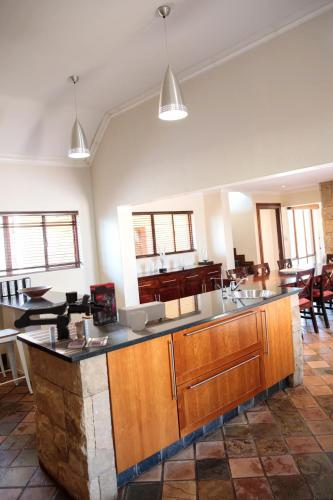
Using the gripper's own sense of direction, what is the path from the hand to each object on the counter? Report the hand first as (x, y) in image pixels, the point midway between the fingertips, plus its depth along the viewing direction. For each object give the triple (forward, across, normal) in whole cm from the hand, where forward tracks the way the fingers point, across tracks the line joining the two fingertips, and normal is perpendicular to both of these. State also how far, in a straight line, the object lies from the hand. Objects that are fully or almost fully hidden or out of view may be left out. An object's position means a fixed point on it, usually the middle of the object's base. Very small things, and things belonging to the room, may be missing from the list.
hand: (104, 307), depth 224 cm
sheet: (-3, -14, +17) cm, 22 cm away
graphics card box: (-3, +34, +16) cm, 37 cm away
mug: (+21, +7, +16) cm, 27 cm away
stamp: (-14, -8, +17) cm, 23 cm away
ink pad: (-14, -18, +17) cm, 29 cm away
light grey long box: (+23, +32, +16) cm, 42 cm away
